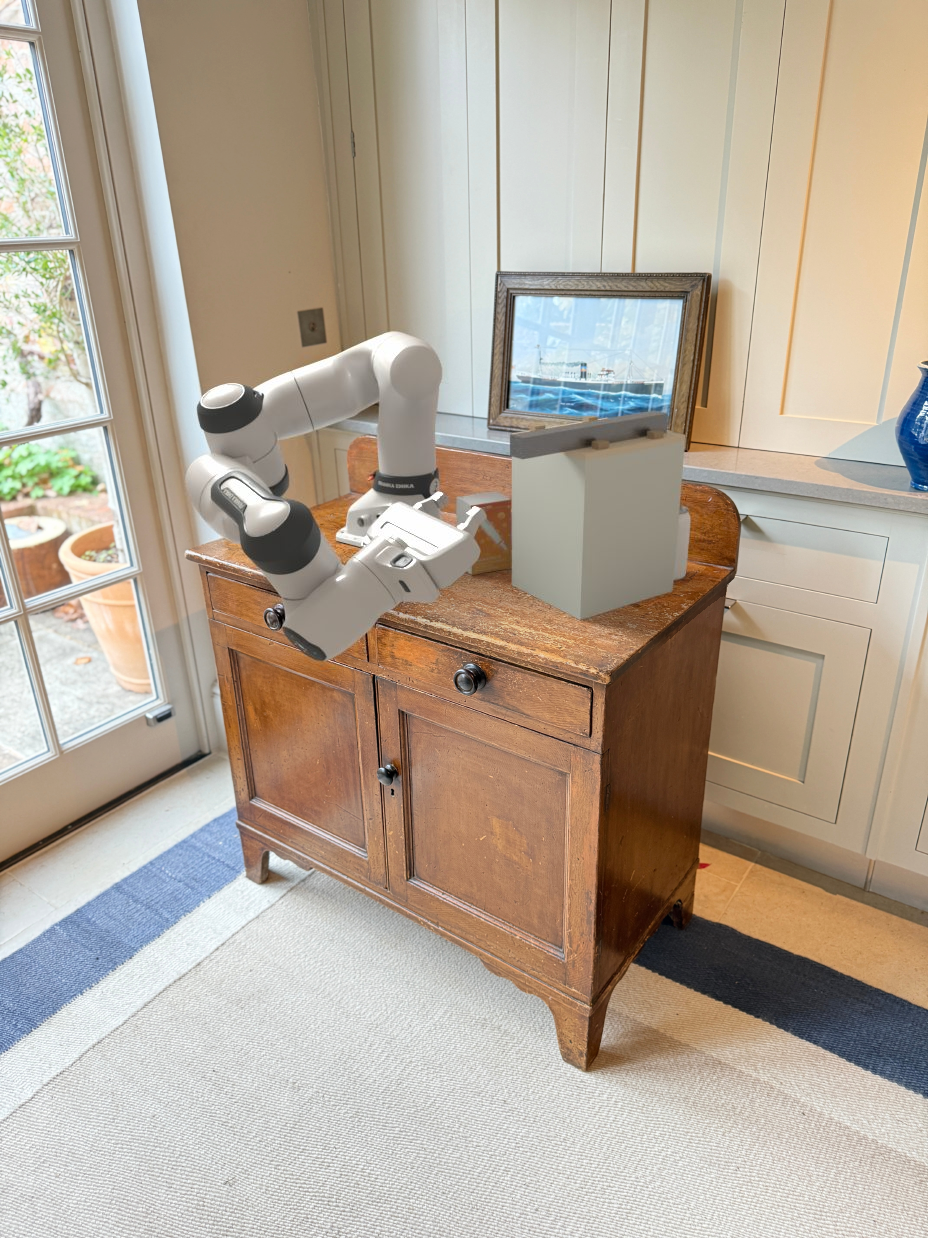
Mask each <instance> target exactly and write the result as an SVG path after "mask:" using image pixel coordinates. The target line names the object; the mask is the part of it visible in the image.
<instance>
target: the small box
mask: <svg viewBox="0 0 928 1238" xmlns="http://www.w3.org/2000/svg"><path fill="white" fill-rule="evenodd" d="M455 503H456V505H455V506H456V507H455V508H456V510H455V512H456V527H457V526H459V525H460V524H461V523H463V524H465V522H466V520H467V519H468V517H469V516H468V514H467V513H468V512H469V511H470V510H472V509H473V507H475V506H477V507H479V508H482V509H483V510H484V511H485V513H486V515H487V518H486V519H485V520H484V521H483V522H482V523H481V524H480V525H479V527H478V529H477V532H476V534H475V536H474V539H475V541H476V542H477V544H478V546H479V548H480V550H481V552H480V555H479V558H478V560H477V561H476V562H475V563H474V564H473V565H472V566H471V567H470V568H469V569H468V570H467V571H466V572H467V573H468V574H470V576H475V575H479V574H486V573H490V572H491V573H492V572H496V571H502V570H509V569H512V550H511V512H512V498H509V497H508V496H506V495H504V494H502V493H501V492H498V491H497V490H494V491H489V492H488V491H487V492H481V493H479V492H478V493H473V494H469V495H463V496H462V495H461V496H456V497H455Z"/></svg>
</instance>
